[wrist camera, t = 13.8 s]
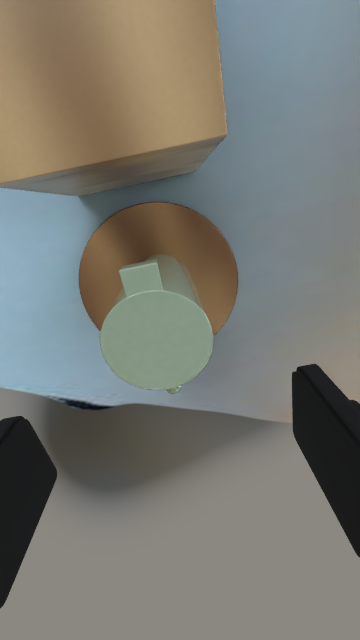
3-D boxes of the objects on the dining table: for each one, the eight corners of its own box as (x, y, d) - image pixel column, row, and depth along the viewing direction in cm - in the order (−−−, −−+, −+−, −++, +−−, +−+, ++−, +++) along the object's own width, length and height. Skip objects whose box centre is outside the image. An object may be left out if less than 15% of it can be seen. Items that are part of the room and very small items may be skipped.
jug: (113, 247, 23) (74, 279, 13) (184, 232, 23) (200, 253, 13) (141, 344, 27) (128, 426, 17) (202, 332, 27) (224, 407, 17)
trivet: (165, 160, 21) (165, 159, 21) (266, 292, 26) (268, 294, 26) (46, 280, 25) (44, 282, 24) (156, 377, 30) (155, 380, 29)
